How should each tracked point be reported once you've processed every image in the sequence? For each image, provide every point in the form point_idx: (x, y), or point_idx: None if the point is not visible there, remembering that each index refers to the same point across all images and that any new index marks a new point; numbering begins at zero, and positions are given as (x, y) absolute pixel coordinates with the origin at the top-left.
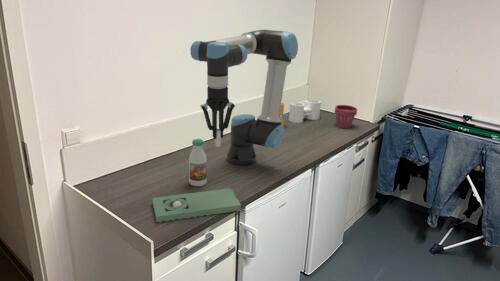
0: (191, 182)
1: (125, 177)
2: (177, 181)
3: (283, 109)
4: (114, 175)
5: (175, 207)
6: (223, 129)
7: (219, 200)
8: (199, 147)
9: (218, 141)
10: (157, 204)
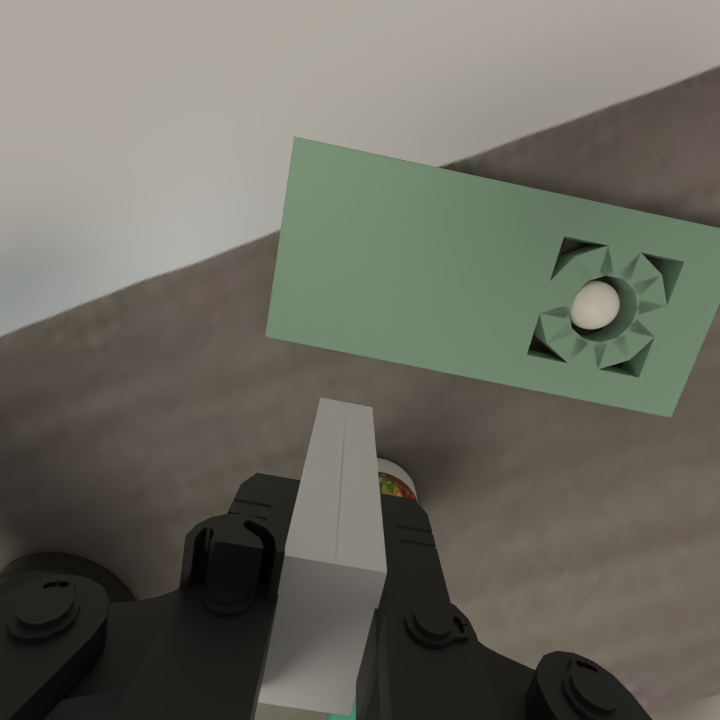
0: (414, 490)
1: (639, 662)
2: (453, 543)
3: None
4: (670, 694)
5: (612, 288)
6: (194, 559)
7: (381, 239)
8: None
9: (350, 437)
10: (681, 348)
